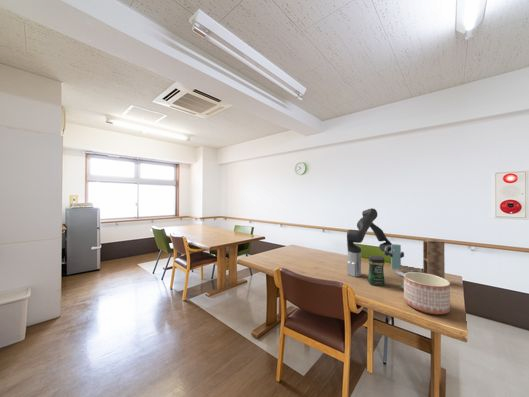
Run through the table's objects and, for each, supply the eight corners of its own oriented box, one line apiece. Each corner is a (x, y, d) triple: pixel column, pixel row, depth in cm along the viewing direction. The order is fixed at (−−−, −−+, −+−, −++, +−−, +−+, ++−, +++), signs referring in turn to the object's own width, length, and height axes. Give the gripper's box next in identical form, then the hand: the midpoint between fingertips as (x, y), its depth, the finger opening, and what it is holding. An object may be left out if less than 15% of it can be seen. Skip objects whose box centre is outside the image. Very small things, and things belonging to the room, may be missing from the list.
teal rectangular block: (392, 269, 155) (392, 244, 155) (391, 267, 158) (391, 244, 158) (401, 270, 153) (401, 245, 153) (399, 268, 156) (399, 244, 156)
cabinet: (409, 281, 143) (409, 240, 143) (401, 272, 161) (401, 235, 160) (447, 285, 136) (447, 242, 136) (434, 275, 154) (434, 237, 154)
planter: (446, 321, 97) (446, 289, 97) (399, 306, 111) (398, 278, 111) (452, 307, 110) (452, 279, 110) (409, 294, 124) (409, 269, 124)
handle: (411, 294, 138) (390, 282, 133) (415, 282, 139) (395, 270, 134) (440, 306, 121) (418, 293, 116) (445, 293, 122) (423, 279, 117)
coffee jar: (370, 285, 137) (370, 257, 137) (366, 281, 145) (366, 254, 145) (386, 286, 136) (386, 257, 135) (381, 281, 143) (381, 254, 143)
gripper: (380, 245, 172) (385, 250, 156) (401, 246, 168) (408, 251, 151) (380, 254, 172) (385, 260, 156) (401, 256, 167) (408, 262, 151)
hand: (396, 256), depth 154 cm, fingers closed on teal rectangular block, 5 cm apart
